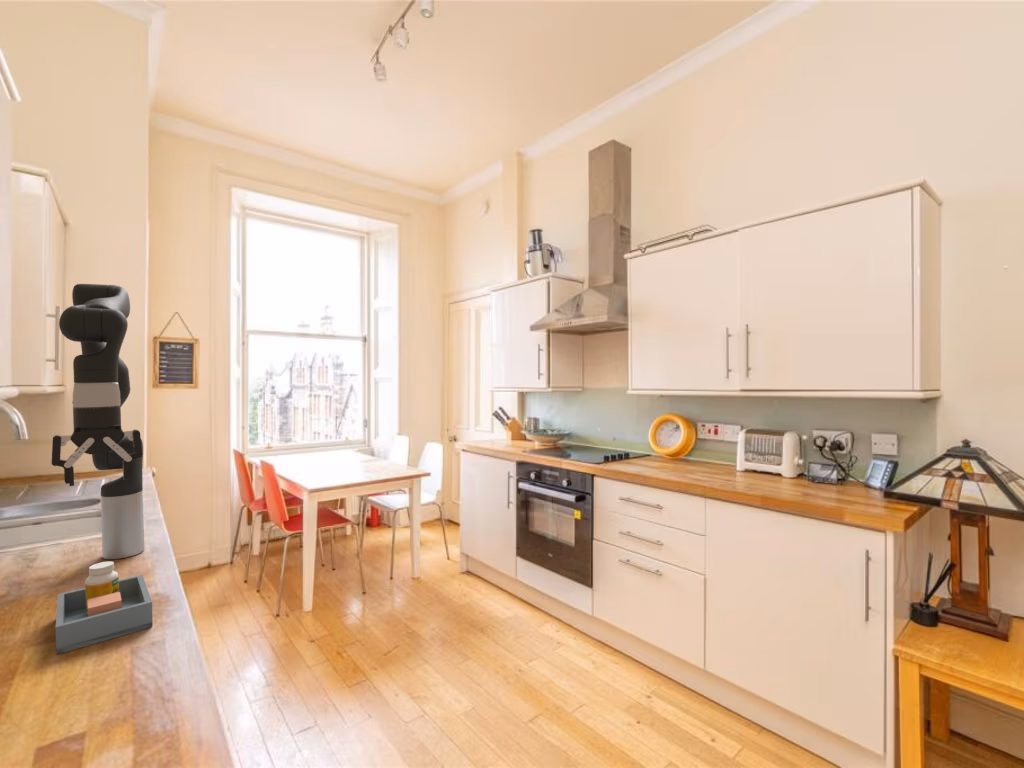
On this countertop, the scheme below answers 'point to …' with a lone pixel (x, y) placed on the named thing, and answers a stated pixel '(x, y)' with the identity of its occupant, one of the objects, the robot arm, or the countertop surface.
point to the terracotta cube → (104, 604)
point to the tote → (101, 616)
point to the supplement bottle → (101, 581)
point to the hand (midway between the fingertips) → (99, 482)
